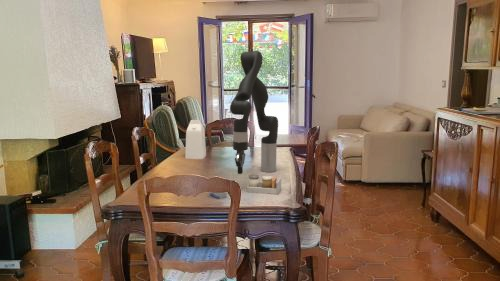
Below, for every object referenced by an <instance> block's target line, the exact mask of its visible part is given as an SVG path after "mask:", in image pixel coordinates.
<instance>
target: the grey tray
mask: <svg viewBox="0 0 500 281" xmlns="http://www.w3.org/2000/svg"><path fill="white" fill-rule="evenodd" d="M281 189H282V176H279V177H278V179H277V180H276V189H273V188H262V181H259V187H249V186H246V193H255V194H266V193H270V195H279V193H280V191H281Z"/></svg>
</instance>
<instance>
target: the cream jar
mask: <svg viewBox="0 0 500 281" xmlns="http://www.w3.org/2000/svg"><path fill="white" fill-rule="evenodd" d="M259 182H260V175H259V174H249V175H248V187H259ZM259 188H260V187H259Z"/></svg>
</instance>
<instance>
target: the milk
mask: <svg viewBox="0 0 500 281" xmlns="http://www.w3.org/2000/svg"><path fill="white" fill-rule="evenodd" d="M205 132H206V131H205V128H204V126H203V124H202V122H201V120H200V119H191V120H190V121H189V124H188V126H187V128H186V132H185V155H184V156H185V159H187V160H188V159H190V160H191V159H193V160H204V159H205V157H207V151H206V148H207V146H206V133H205Z"/></svg>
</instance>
